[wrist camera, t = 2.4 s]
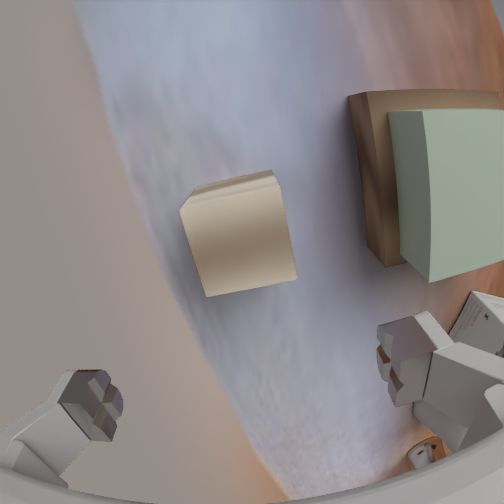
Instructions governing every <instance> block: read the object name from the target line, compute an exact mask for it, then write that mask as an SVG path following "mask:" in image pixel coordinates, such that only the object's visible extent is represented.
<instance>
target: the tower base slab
mask: <svg viewBox="0 0 504 504" xmlns="http://www.w3.org/2000/svg"><path fill="white" fill-rule="evenodd" d="M348 100H349V105H350V110H351V116H352V121H353V127H354V133H355V139H356V145H357V152H358V158H359V165H360V173H361V181H362V189H363V198H364V207H365V218H366V229H367V242H368V248H369V249H370V250H371V251H372V252H373V254H374V255H375V256H376V257H377V258H378V259H379V261H380V262H381V263H382V264H383V265H384V266H385V268H386V267H390V266H394V265H398V264H402V263H406V262H408V261H407V260H406V259H405V258H404V257H403V256H402V255H400V230H399V209H398V194H397V182H396V172H395V162H394V154H393V146H392V138H391V131H390V124H389V118H388V111H402V110H420V109H498V110H501V105H500V98H499V92H491V91H477V90H455V89H408V90H385V91H370V92H363V93H359V94H354V95H350V96H348Z"/></svg>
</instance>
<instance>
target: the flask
mask: <svg viewBox="0 0 504 504" xmlns="http://www.w3.org/2000/svg"><path fill="white" fill-rule="evenodd" d="M413 415H414V416H415V417H416V418H417V419H418V420H419V421H420V422H422V423H423V424H424V425H425V426H427V427H428V428H429V429H430V430H431V431H432V432H433V433H435V434H436V435H437V436H438V437H439V438H440V439H441V440H442V441H443V442H444V443H445V444H446V445H447V447H448V448H449V449H450V451H451V452H452V454H454V453H456V452H458V451H460V450H459V446H460V444H461V442H462V441H463V439H464V437H465V435H466V433H467V431H468V429H467V428H465V427H464V426H462V425H461V424H459V423H457V422H456V421H454V420H453V419H451V418H450V417H448V416H447V415H445V414H443V413H442V412H440V411H439V410H437V409H436V408H434V407H433V406H431V405H430V404H428V403H427V402H425V401H424V400H423V399H421V400H418V401H416V402H414V405H413Z"/></svg>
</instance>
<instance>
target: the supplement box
mask: <svg viewBox="0 0 504 504" xmlns="http://www.w3.org/2000/svg"><path fill="white" fill-rule="evenodd" d="M448 336H449V337H450V338H451V339H452V341H453V342H454V343H457V342H461V343H463V344H466V345H469V346H472V347H474V348H477V349H480V350H482V351H485V352H488V353H491V354H493V355H496V356H499V357H502V358H504V298H501V297H497V296H493V295H489V294H485V293H481V292H477V291H471V294H470V296H469V298H468V300H467V302H466V304H465V306H464V308H463V310H462V312H461V314H460V316H459V318H458V319H457V321H456V323H455V325H454V326H453V328H452V330H451V331H450V333H449V335H448Z"/></svg>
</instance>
